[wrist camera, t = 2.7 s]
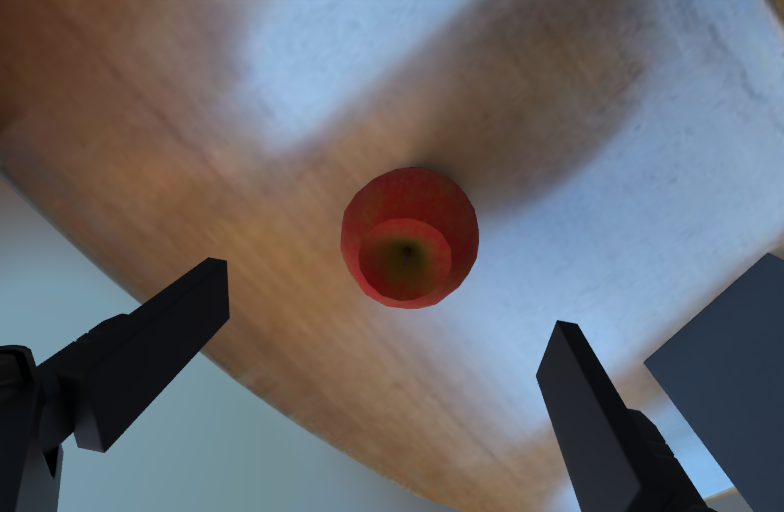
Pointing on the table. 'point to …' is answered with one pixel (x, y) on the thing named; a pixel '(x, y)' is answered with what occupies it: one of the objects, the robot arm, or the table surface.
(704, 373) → the shelf
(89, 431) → the robot arm
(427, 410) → the table surface
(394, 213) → the apple
